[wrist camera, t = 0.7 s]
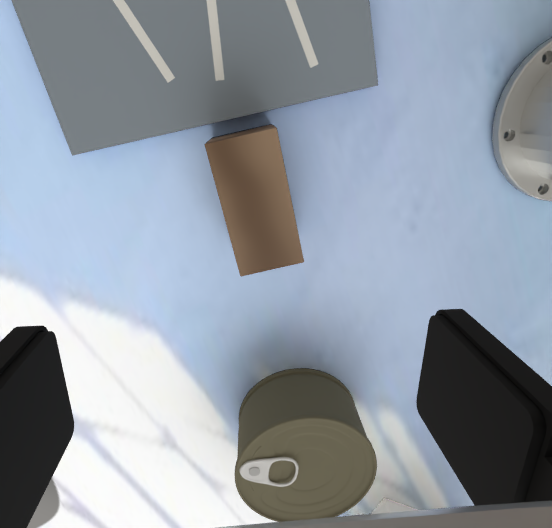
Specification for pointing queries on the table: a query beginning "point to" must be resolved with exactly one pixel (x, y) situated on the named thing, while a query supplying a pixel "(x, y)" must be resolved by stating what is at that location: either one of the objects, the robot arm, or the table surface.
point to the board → (190, 61)
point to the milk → (391, 507)
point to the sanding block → (255, 199)
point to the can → (302, 448)
